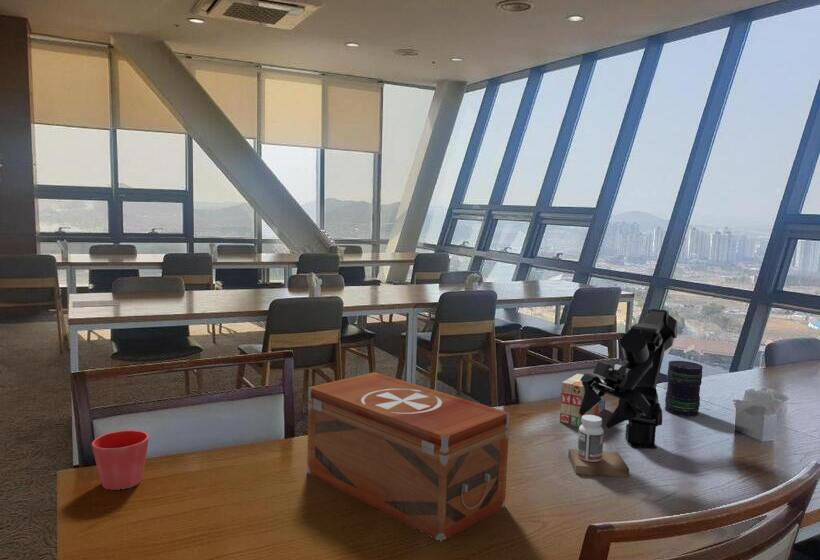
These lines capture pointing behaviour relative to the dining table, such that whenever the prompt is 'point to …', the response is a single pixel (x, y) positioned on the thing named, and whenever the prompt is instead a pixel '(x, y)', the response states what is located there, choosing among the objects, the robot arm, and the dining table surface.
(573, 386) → the stack of blocks
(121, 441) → the flower pot
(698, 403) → the storage jar
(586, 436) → the pill bottle
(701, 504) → the dining table surface
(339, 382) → the wooden box
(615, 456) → the wooden board
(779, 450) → the dining table surface
